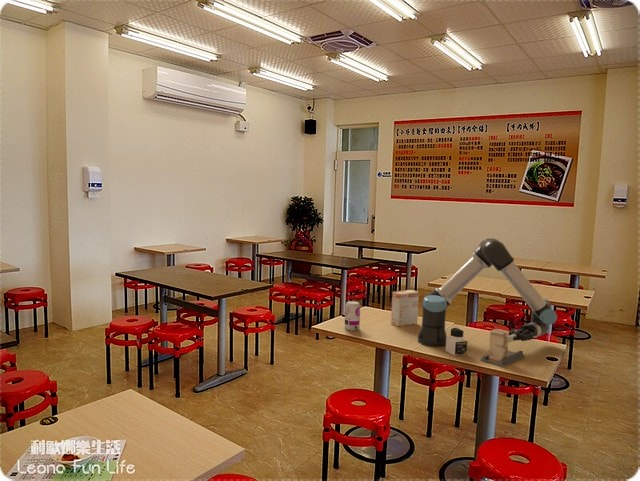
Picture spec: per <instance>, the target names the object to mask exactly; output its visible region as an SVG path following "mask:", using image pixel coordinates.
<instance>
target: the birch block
mask: <svg viewBox="0 0 640 481" xmlns="http://www.w3.org/2000/svg"><path fill="white" fill-rule="evenodd" d="M509 332H510V331H508V330H504V329H499V328H494V329H492V330H490V333H489V334H490V335H489V344H488V345H489V348H488V353H489V358H490V359H493V360H497V361H499V360H501V359H503V358H506V357H507V353H508V351H509V342H508V340H509Z"/></svg>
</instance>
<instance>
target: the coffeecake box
mask: <svg viewBox="0 0 640 481" xmlns="http://www.w3.org/2000/svg"><path fill="white" fill-rule="evenodd" d="M419 292H420V291H417V290H414V289H408V290H407V289H406V290H398V291H392V294H391V319H390V320H391V321H390V324H391V325H392V324H393V326H396V327H397V326H400V327H405V325H407V326H412V324H414V325H418V319H419V318H418V317H419V316H418V314H419V297H420V293H419Z"/></svg>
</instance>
